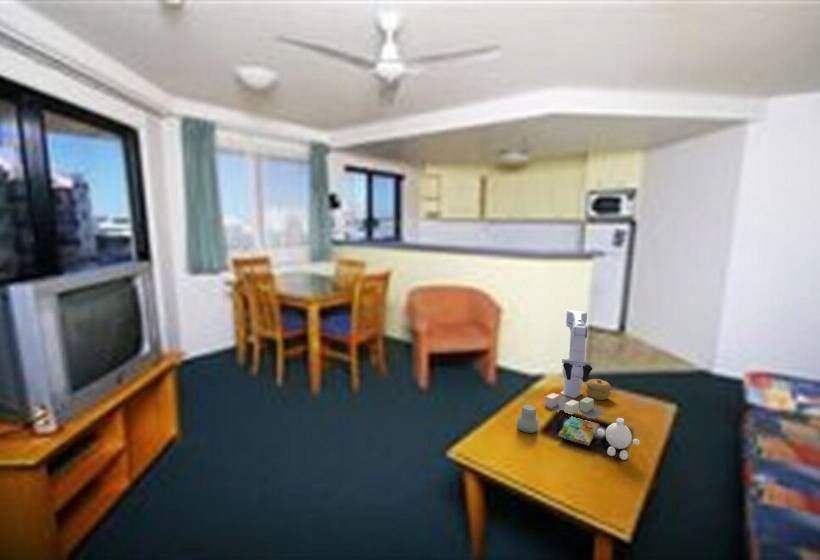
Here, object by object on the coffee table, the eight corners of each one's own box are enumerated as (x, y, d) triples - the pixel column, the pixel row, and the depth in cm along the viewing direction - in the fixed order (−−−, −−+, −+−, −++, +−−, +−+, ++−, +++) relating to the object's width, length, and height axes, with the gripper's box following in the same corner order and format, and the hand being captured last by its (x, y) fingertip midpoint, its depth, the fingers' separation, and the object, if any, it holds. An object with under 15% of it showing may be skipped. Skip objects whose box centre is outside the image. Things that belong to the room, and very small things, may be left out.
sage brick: (586, 405, 209) (586, 396, 208) (593, 408, 206) (594, 399, 206) (579, 409, 204) (580, 400, 203) (586, 412, 201) (587, 403, 201)
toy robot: (593, 453, 166) (596, 417, 164) (597, 443, 174) (601, 408, 172) (636, 466, 158) (640, 428, 156) (638, 455, 166) (643, 419, 164)
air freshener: (536, 437, 177) (538, 414, 175) (516, 433, 179) (518, 410, 178) (537, 425, 187) (539, 404, 186) (518, 422, 190) (520, 400, 188)
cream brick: (571, 408, 205) (572, 399, 204) (578, 411, 202) (579, 402, 202) (564, 412, 200) (564, 403, 200) (571, 415, 198) (572, 405, 197)
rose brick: (552, 401, 212) (552, 392, 211) (558, 404, 210) (559, 395, 209) (544, 405, 207) (545, 396, 207) (551, 407, 205) (552, 398, 204)
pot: (602, 393, 226) (604, 375, 225) (614, 402, 215) (616, 383, 213) (581, 393, 226) (582, 375, 224) (591, 402, 214) (593, 383, 213)
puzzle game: (599, 422, 183) (589, 440, 167) (598, 432, 184) (588, 451, 168) (571, 414, 190) (558, 431, 174) (570, 424, 191) (557, 442, 174)
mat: (563, 396, 220) (563, 395, 220) (606, 411, 204) (606, 410, 204) (542, 406, 207) (542, 406, 207) (587, 423, 191) (587, 423, 191)
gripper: (559, 349, 203) (557, 378, 201) (590, 351, 193) (588, 382, 190) (566, 350, 208) (564, 379, 205) (596, 353, 197) (595, 383, 195)
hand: (576, 380), depth 198 cm, fingers open, 7 cm apart
